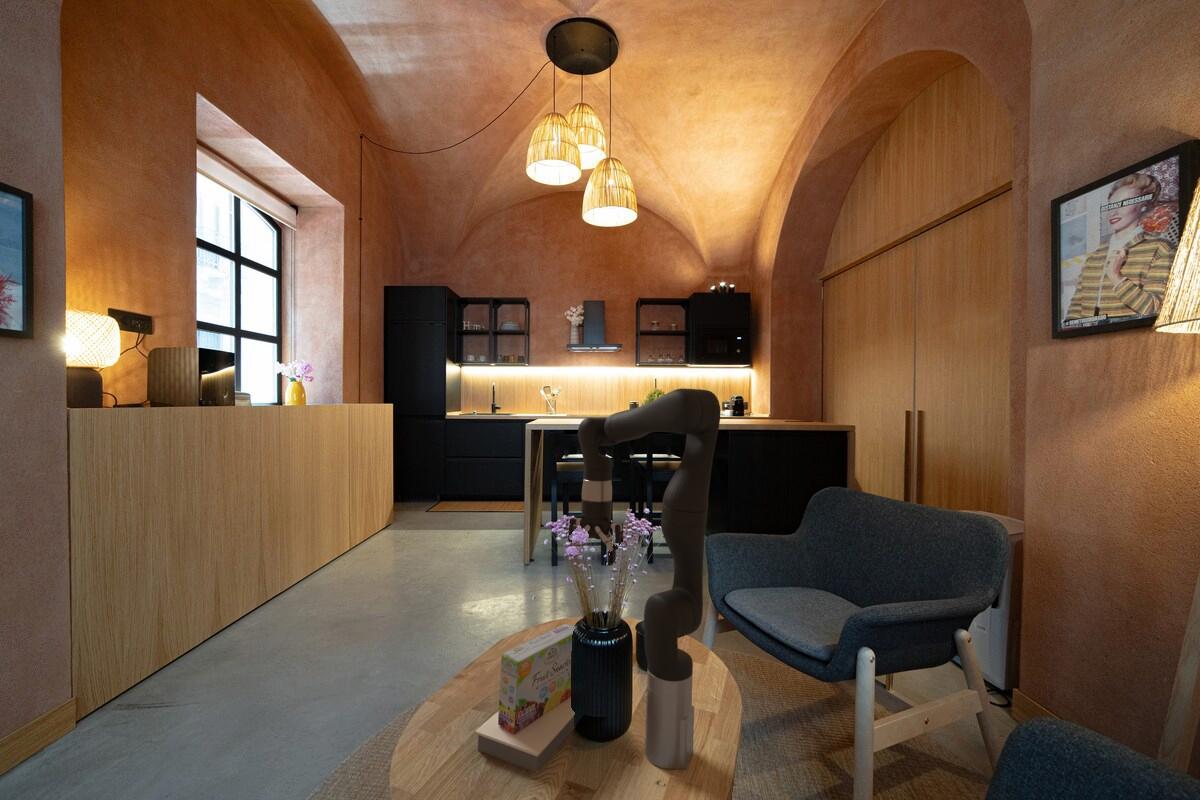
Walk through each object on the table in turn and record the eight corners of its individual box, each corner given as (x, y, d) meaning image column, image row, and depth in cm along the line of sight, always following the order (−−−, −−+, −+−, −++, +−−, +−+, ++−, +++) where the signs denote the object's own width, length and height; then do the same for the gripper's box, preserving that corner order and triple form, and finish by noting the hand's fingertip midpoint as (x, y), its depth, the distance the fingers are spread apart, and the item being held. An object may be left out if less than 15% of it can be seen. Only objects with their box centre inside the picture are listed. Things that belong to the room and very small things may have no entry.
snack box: (516, 736, 105) (518, 661, 105) (496, 726, 108) (499, 653, 108) (580, 691, 122) (582, 627, 122) (562, 683, 125) (564, 620, 125)
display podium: (597, 704, 124) (597, 687, 124) (537, 775, 100) (537, 754, 100) (543, 687, 130) (543, 671, 131) (474, 750, 106) (475, 731, 106)
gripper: (628, 498, 130) (626, 562, 130) (578, 492, 136) (576, 554, 136) (617, 502, 124) (615, 571, 123) (564, 496, 129) (562, 562, 129)
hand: (594, 562), depth 130 cm, fingers open, 8 cm apart
